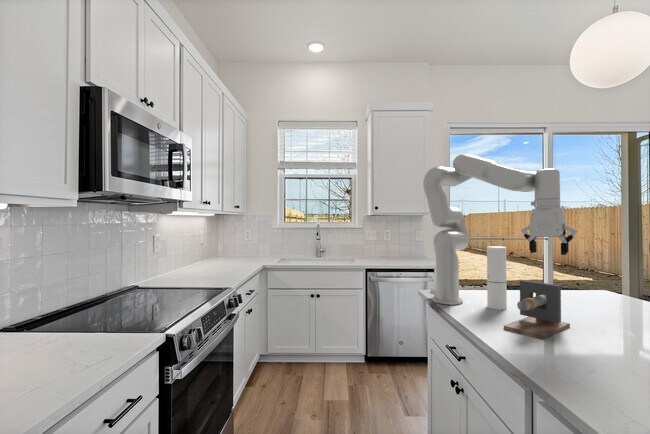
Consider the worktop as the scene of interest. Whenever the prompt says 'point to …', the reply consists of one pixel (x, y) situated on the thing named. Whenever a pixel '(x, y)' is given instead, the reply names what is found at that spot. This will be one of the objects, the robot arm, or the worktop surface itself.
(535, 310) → the dark grey square plate
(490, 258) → the cylindrical container
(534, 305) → the pipe mount
